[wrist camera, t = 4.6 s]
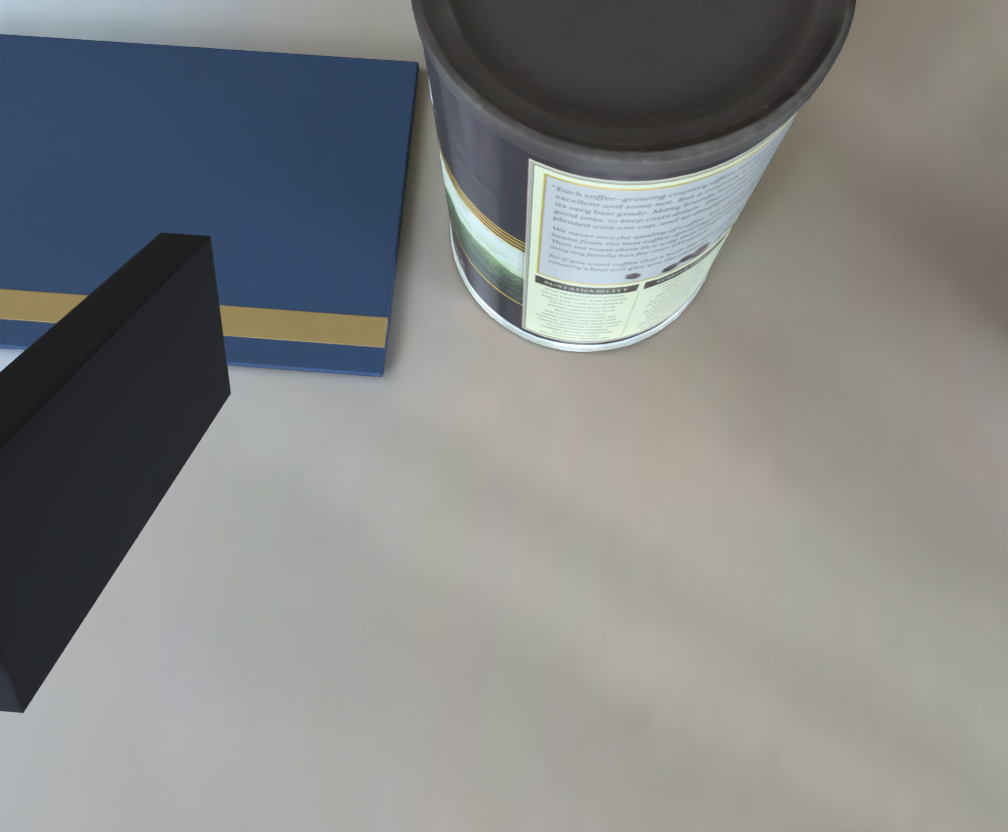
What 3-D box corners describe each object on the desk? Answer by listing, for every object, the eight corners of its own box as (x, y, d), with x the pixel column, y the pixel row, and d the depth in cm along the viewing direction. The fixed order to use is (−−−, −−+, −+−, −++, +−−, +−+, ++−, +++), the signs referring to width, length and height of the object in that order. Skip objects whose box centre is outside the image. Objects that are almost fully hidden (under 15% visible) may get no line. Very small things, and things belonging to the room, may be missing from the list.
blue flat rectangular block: (419, 67, 35) (417, 61, 35) (383, 377, 32) (381, 373, 32) (-68, 35, 36) (-75, 28, 35) (-148, 336, 33) (-156, 333, 32)
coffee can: (400, 280, 33) (322, 37, 19) (526, 68, 35) (537, -287, 22) (645, 404, 32) (746, 238, 18) (761, 177, 34) (930, -125, 20)
